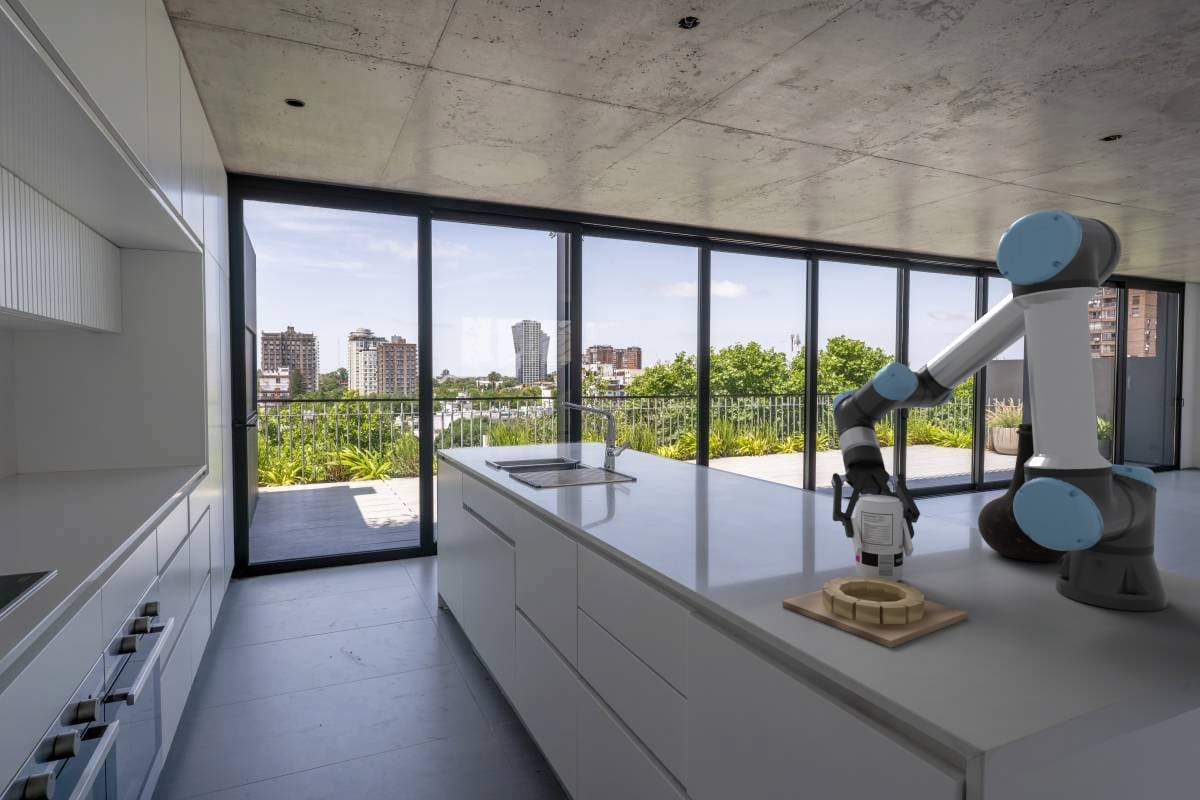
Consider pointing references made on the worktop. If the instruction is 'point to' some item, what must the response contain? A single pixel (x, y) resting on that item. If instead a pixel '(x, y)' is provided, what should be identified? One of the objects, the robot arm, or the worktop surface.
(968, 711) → the worktop surface
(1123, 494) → the robot arm
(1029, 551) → the dark vase
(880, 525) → the supplement can
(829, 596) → the hub seat
